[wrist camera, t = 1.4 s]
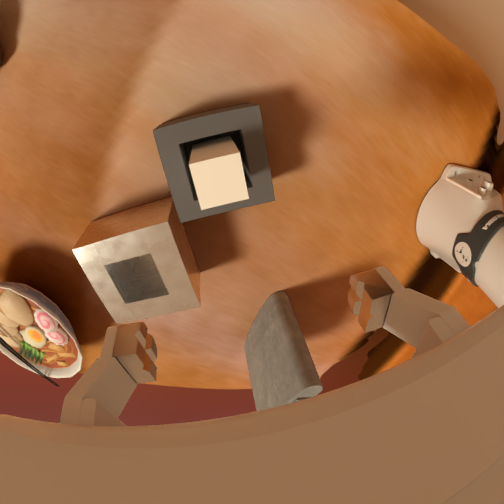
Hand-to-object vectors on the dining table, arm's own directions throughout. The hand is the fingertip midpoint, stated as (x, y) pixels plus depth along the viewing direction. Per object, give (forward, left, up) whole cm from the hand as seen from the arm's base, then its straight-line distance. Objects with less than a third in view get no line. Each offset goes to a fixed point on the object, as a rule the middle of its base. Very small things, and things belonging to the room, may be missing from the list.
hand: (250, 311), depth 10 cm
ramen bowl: (+38, +15, -25) cm, 48 cm away
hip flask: (-1, +29, -25) cm, 39 cm away
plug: (0, -1, -24) cm, 24 cm away
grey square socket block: (0, -1, -25) cm, 25 cm away
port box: (+12, +9, -25) cm, 29 cm away
